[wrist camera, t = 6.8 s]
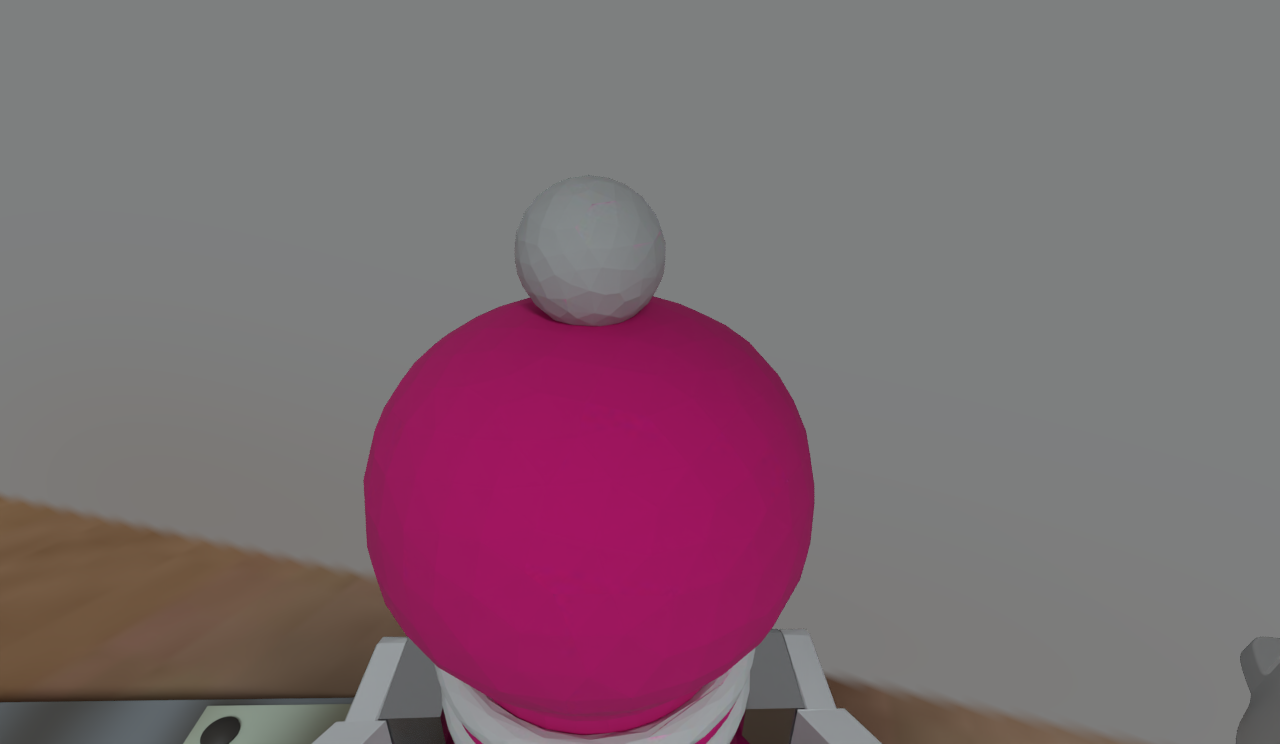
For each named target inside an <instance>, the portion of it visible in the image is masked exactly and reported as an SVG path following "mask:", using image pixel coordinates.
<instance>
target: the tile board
mask: <svg viewBox="0 0 1280 744" xmlns="http://www.w3.org/2000/svg"><path fill="white" fill-rule="evenodd" d="M353 700H354V698H301V699H224V700H148V701H72V702H0V744H312V743H313V742H314V741H315V740H316V739H317V738H318V737H319V736H321V735H322V734H323V733H324V732H325V731H326V730H327V729H328V728H329V727H331V726H332V725H333V724H334V723H335V722H339V721H345V719H346V716H347V714H348V712H349V709H350V707H351V704H352V702H353Z"/></svg>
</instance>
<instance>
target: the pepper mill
mask: <svg viewBox="0 0 1280 744" xmlns="http://www.w3.org/2000/svg"><path fill="white" fill-rule="evenodd" d="M515 263H516V268H517V274H518V276H519V278H520V281H521V283H522V286H523V287H524V289H525V290H526V292H527V293H528V295H529V296H530V298H527V299H524V300H520V301H517V302H514V303H510V304H507V305H504V306H501V307H498V308H496V309H493V310H491V311H489V312H487V313H484V314H482V315H480V316H478V317H476V318H474V319H472V320H471V321H469V322H467V323H466V324H464V325H462V326H461V327H459V328H457V329H456V330H454V331H452V332H451V333H449V334H448V335H446V336H445V337H444V338H442V339H441V340H440V341H438V342H437V343H436V344H434V345H433V346H432V347H431V348H430V349H429V350H428V351H427V352H426V353H425V354H424V355H423V356H421V357H420V358H419V359H418V360H417V361H416V362H415V363H414V364H413V366H412V367H411V368H410V370H409V371H408V372H407V374H406V375H405V376H404V378H403V379H402V380H401V382H400V383H399V385H398V387H397V388H396V390H395V391H394V393H393V394H392V396H391V398H390V399H389V401H388V403H387V404H386V405H385V407H384V409H383V412H382V414H381V417H380V419H379V421H378V424H377V426H376V429H375V432H374V436H373V441H372V445H371V450H370V454H369V459H368V463H367V467H366V472H365V476H364V496H365V515H366V534H367V548H368V551H369V555H370V558H371V562H372V565H373V568H374V572H375V575H376V578H377V581H378V584H379V587H380V590H381V592H382V595H383V598H384V601H385V604H386V606H387V607H388V609H389V610H390V612H391V613H392V615H393V616H394V618H395V619H396V621H397V622H398V624H399V625H400V626H401V628H402V629H403V631H404V632H405V634H406V635H407V636H408V637H409V638H410V639H411V640H412V641H413V643H414V644H415V645H416V646H417V647H418V648H419V649H420V650H421V651H422V652H423V653H424V654H425V655H426V656H427V657H428V658H429V659H430V660H431V661H432V662H433V663H434V664H435V669H436V673H437V678H438V681H439V683H440V686H441V693H442V706H443V710H444V714H445V718H446V722H447V726H448V730H449V732H450V734H451V736H452V739H453V741H454V743H455V744H730V742H731V740H732V739H733V737H734V735H735V733H736V731H737V729H738V726H739V724H740V722H741V719H742V717H743V715H744V712H745V709H746V704H747V700H748V695H749V691H750V670H751V667H752V664H753V659H754V654H755V648H756V647H757V646H758V645H759V644H760V643H761V642H762V641H763V639H764V638H765V637H766V635H767V634H768V633H769V632H770V630H771V629H772V627H773V626H774V624H775V622H776V620H777V619H778V617H779V615H780V613H781V612H782V610H783V608H784V607H785V605H786V603H787V601H788V600H789V598H790V596H791V594H792V593H793V591H794V589H795V587H796V585H797V584H798V582H799V580H800V577H801V574H802V570H803V567H804V564H805V561H806V557H807V553H808V549H809V545H810V540H811V531H812V521H813V511H814V480H813V473H812V467H811V459H810V453H809V447H808V440H807V435H806V430H805V428H804V425H803V423H802V420H801V418H800V415H799V413H798V410H797V408H796V405H795V403H794V401H793V399H792V397H791V396H790V394H789V392H788V390H787V389H786V387H785V386H784V384H783V382H782V380H781V379H780V377H779V376H778V374H777V373H776V372H775V371H774V370H773V368H772V367H771V366H770V365H769V364H768V363H767V362H766V361H765V360H764V358H763V357H762V356H761V355H760V354H759V353H758V352H757V351H756V349H755V348H754V347H753V346H752V345H751V344H750V343H749V342H748V341H747V340H745V339H744V338H743V337H741V336H740V335H738V334H737V333H736V332H734V331H733V330H731V329H730V328H729V327H727V326H726V325H724V324H722V323H720V322H718V321H716V320H714V319H712V318H710V317H708V316H706V315H704V314H701V313H699V312H697V311H695V310H693V309H690V308H688V307H685V306H683V305H681V304H678V303H675V302H671V301H668V300H664V299H661V298H657V297H653V295H654V293H655V291H656V289H657V287H658V285H659V284H660V282H661V279H662V277H663V273H664V265H665V240H664V237H663V234H662V230H661V227H660V224H659V221H658V219H657V216H656V214H655V213H654V211H653V210H652V209H651V208H650V206H649V205H648V204H647V202H646V201H645V200H644V198H643V197H642V196H641V195H639V194H638V193H636V192H635V191H634V190H632V189H631V188H629V187H628V186H627V185H625V184H623V183H620V182H618V181H615V180H613V179H610V178H605V177H597V176H589V175H588V176H582V177H575V178H568V179H566V180H563V181H561V182H558V183H556V184H554V185H552V186H551V187H549V188H548V189H546V190H545V191H544V192H542V193H541V194H540V195H538V196H537V197H536V199H535V200H534V201H533V202H532V204H531V205H530V206H529V207H528V208H527V210H526V211H525V213H524V216H523V218H522V220H521V222H520V225H519V227H518V229H517V232H516V241H515Z"/></svg>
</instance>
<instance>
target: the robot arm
mask: <svg viewBox="0 0 1280 744" xmlns="http://www.w3.org/2000/svg"><path fill="white" fill-rule="evenodd" d="M1240 660H1241V666H1242V669H1243V673H1244V676H1245V679H1246V681H1247V684H1248V687H1249V689H1250V692H1251V700H1250V704H1249V707H1248V709H1247V711H1246V712H1245V715H1244V716H1243V718H1242V720H1241V722H1240V724H1239V727H1238V730H1237V736H1236V744H1280V638H1272V637H1259V638H1256V639H1254V640H1253V641H1252V642H1251V643H1250V644H1249V645H1248V646H1247V647H1246V648H1245V649H1244V650H1243V652H1242V653H1241V656H1240ZM312 744H455V743H454V741H453V739H452V736H451V734H450V732H449V730H448V726H447V722H446V718H445V714H444V710H443V706H442V693H441V686H440V683H439V681H438V678H437V673H436V669H435V664H434V663H433V662H432V661H431V660H430V659H429V658H428V657H427V656H426V655H425V654H424V653H423V652H422V651H421V650H420V649H419V648H418V647H417V646H416V645H415V644H414V643H413V641H412V640H411V639H410V638H409V637H383V638H382V639H381V640H380V641H379V643H378V644H377V645H376V647H375V650H374V652H373V654H372V657H371V659H370V662H369V664H368V666H367V669H366V671H365V673H364V676H363V678H362V681H361V683H360V685H359V688H358V690H357V693H356V695H355V697H354V700H353V702H352V704H351V707H350V709H349V712H348V714H347V716H346V719H345V721H339V722H335V723H334V724H333V725H332V726H331V727H329V728H328V729H327V730H326V731H325V732H324V733H323V734H322V735H321V736H319V737H318V738H317V739H316V740H315V741H314V742H313V743H312ZM730 744H882V743H881V742H880V741H879V740H878V739H877V738H875V737H874V736H873V735H872V734H871V733H870V732H869V731H868V730H867V729H866V728H865V727H864V726H863V725H862V724H861V723H859V722H858V721H857V720H856V719H855V718H854V717H853V716H852V715H851V714H850V713H849V712H848V711H847V710H846V709H845V708H836V706H835V703H834V700H833V697H832V694H831V692H830V689H829V686H828V683H827V681H826V678H825V675H824V672H823V669H822V667H821V664H820V661H819V658H818V655H817V653H816V650H815V647H814V644H813V641H812V639H811V636H810V633H809V632H808V631H807V630H806V629H780V630H778V629H771V630H770V632H769V633H768V634H767V635H766V637H765V638H764V639H763V641H762V642H761V643H760V644H759V645H758V646H757V647H756V648H755V654H754V659H753V664H752V667H751V670H750V691H749V695H748V700H747V704H746V709H745V712H744V715H743V717H742V719H741V722H740V724H739V726H738V729H737V731H736V733H735V735H734V737H733V739H732V740H731V742H730Z"/></svg>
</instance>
